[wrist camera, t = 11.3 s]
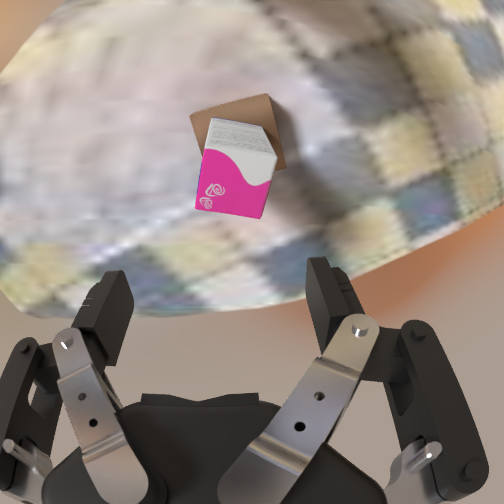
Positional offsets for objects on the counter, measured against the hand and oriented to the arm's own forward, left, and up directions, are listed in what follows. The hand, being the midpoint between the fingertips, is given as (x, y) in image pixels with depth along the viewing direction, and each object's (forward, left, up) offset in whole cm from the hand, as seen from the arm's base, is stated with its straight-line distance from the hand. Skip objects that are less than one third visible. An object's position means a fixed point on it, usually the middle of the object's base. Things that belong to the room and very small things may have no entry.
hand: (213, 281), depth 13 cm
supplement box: (-1, 0, -24) cm, 24 cm away
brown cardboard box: (-1, +1, -28) cm, 28 cm away
